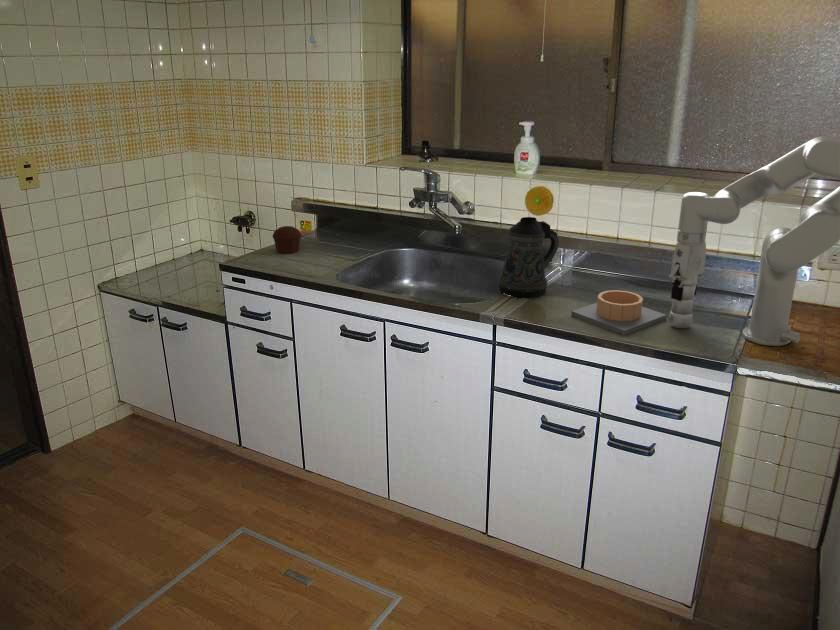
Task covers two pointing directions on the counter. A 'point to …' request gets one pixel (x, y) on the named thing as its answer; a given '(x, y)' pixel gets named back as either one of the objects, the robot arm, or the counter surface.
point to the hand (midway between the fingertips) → (683, 296)
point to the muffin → (287, 240)
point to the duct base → (619, 325)
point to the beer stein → (527, 259)
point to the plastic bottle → (683, 305)
